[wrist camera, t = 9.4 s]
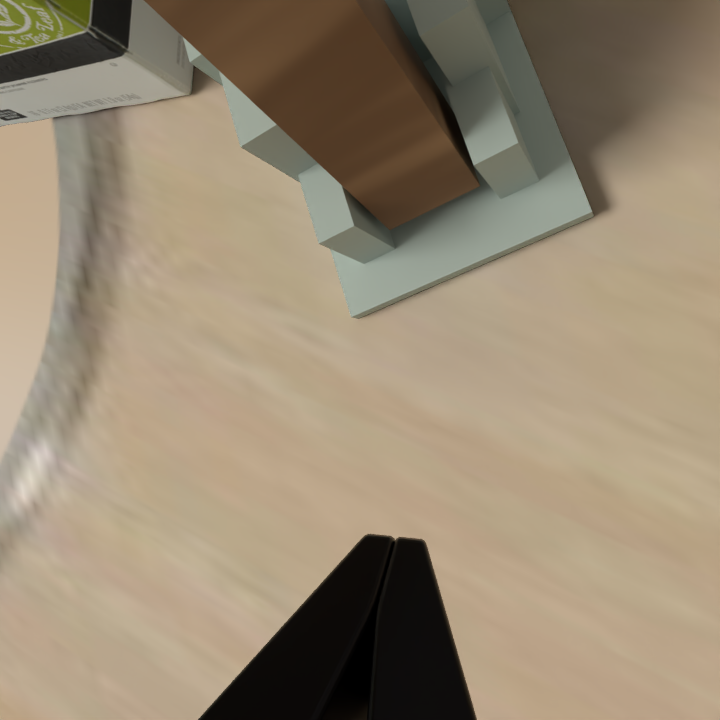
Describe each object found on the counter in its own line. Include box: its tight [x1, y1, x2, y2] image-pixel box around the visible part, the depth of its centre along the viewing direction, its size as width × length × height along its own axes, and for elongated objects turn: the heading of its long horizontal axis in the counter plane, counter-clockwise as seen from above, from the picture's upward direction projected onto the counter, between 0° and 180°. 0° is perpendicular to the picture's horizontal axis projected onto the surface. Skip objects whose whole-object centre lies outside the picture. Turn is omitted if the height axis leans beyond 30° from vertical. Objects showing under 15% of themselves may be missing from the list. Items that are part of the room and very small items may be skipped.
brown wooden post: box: [144, 0, 480, 230], centre depth 13 cm, size 2×3×14 cm
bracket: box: [183, 0, 594, 319], centre depth 18 cm, size 10×8×6 cm
